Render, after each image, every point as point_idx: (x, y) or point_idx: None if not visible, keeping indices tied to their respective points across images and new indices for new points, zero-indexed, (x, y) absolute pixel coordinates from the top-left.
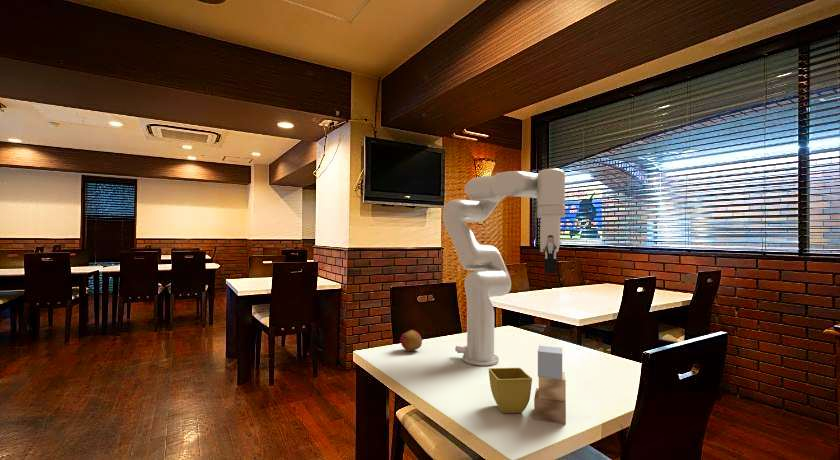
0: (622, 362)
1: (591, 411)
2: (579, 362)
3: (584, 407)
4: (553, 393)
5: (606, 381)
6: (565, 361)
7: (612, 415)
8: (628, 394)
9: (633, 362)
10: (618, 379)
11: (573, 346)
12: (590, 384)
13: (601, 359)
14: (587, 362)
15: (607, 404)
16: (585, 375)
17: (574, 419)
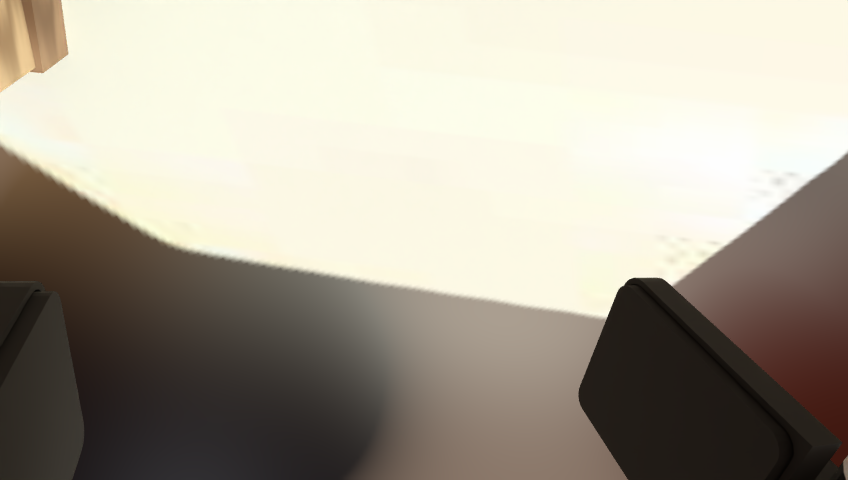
0: None
1: (123, 147)
2: (629, 166)
3: (151, 128)
4: None
5: (439, 228)
6: (641, 117)
7: (120, 206)
8: (333, 272)
9: None
10: (465, 263)
11: (813, 166)
12: (397, 176)
13: (659, 240)
14: (629, 193)
15: (216, 204)
16: (488, 170)
17: None
